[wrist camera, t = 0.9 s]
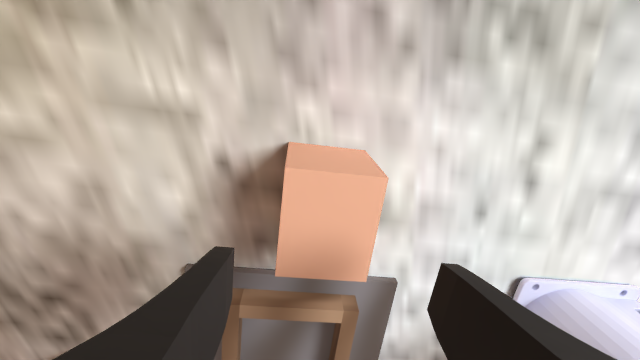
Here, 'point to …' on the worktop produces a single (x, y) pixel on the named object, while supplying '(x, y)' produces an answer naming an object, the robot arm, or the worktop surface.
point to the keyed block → (329, 213)
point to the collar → (304, 317)
